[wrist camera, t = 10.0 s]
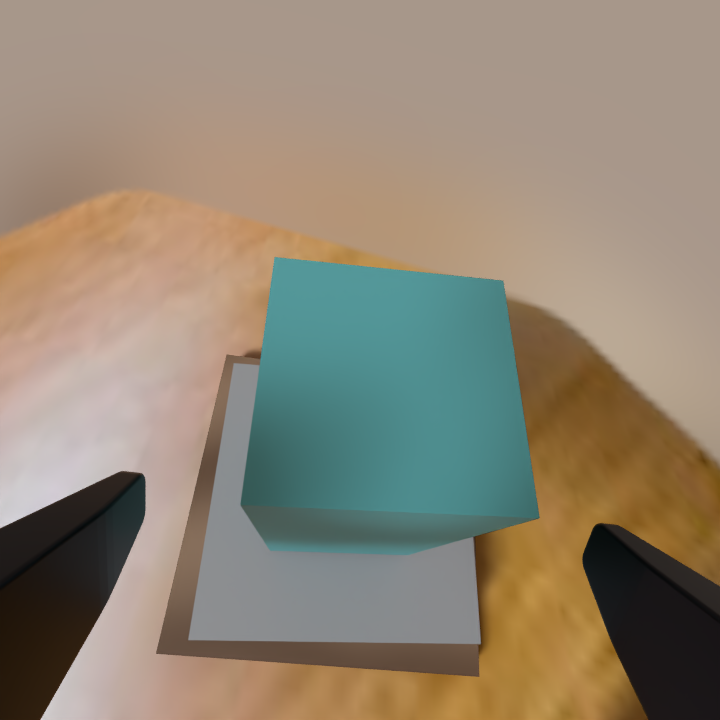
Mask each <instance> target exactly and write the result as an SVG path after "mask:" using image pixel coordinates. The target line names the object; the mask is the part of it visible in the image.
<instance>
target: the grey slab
mask: <svg viewBox="0 0 720 720" xmlns="http://www.w3.org/2000/svg"><path fill="white" fill-rule="evenodd" d="M259 366H260V365H250V364H238V363H234V365H233V371H232V377H231V383H230V389H229V396H228V402H227V408H226V414H225V420H224V426H223V432H222V438H221V444H220V450H219V456H218V462H217V468H216V474H215V480H214V487H213V493H212V499H211V505H210V511H209V517H208V523H207V529H206V535H205V541H204V547H203V553H202V559H201V565H200V572H199V578H198V584H197V590H196V596H195V602H194V608H193V614H192V620H191V626H190V632H189V638H188V640H219V641H293V642H366V643H440V644H481V637H480V624H479V610H478V596H477V583H476V569H475V556H474V542H473V537H471V538H467V539H464V540H460V541H456V542H453V543H449V544H446V545H442V546H439V547H435V548H431V549H428V550H424V551H421V552H417V553H414V554H410V555H386V554H356V553H326V552H296V551H270V550H269V548H268V547H267V545H266V544H265V542H264V541H263V539H262V538H261V536H260V535H259V533H258V532H257V530H256V528H255V527H254V525H253V524H252V522H251V521H250V519H249V518H248V516H247V515H246V513H245V512H244V510H243V509H242V507H241V505H240V503H241V496H242V489H243V481H244V474H245V467H246V460H247V453H248V445H249V438H250V431H251V424H252V417H253V410H254V402H255V395H256V388H257V381H258V374H259Z"/></svg>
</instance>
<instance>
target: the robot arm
mask: <svg viewBox="0 0 720 720" xmlns="http://www.w3.org/2000/svg"><path fill="white" fill-rule="evenodd" d="M144 516H145V477H144V475H143V474H142V473H136V472H127V471H121V472H118V473H116V474H114V475H112V476H109V477H107V478H105V479H103V480H101V481H99V482H97V483H95V484H93V485H91V486H88V487H86V488H84V489H82V490H80V491H78V492H76V493H74V494H72V495H69V496H67V497H65V498H63V499H61V500H59V501H57V502H55V503H53V504H51V505H48V506H46V507H44V508H42V509H40V510H38V511H36V512H34V513H32V514H30V515H27V516H25V517H23V518H21V519H19V520H17V521H15V522H13V523H11V524H9V525H6V526H4V527H2V528H0V720H40V719H41V718H42V716H43V714H44V712H45V711H46V709H47V707H48V705H49V704H50V702H51V700H52V698H53V697H54V695H55V693H56V691H57V690H58V688H59V686H60V684H61V683H62V681H63V679H64V677H65V676H66V674H67V672H68V670H69V669H70V667H71V665H72V663H73V662H74V660H75V658H76V656H77V655H78V653H79V651H80V649H81V648H82V646H83V644H84V642H85V641H86V639H87V637H88V635H89V634H90V632H91V630H92V628H93V627H94V625H95V623H96V621H97V620H98V618H99V616H100V614H101V613H102V611H103V609H104V607H105V605H106V603H107V601H108V600H109V597H110V595H111V593H112V591H113V589H114V587H115V584H116V582H117V580H118V578H119V575H120V573H121V571H122V568H123V566H124V564H125V562H126V559H127V557H128V555H129V553H130V550H131V548H132V546H133V543H134V541H135V539H136V537H137V534H138V532H139V530H140V527H141V525H142V523H143V520H144ZM582 560H583V567H584V570H585V573H586V576H587V578H588V581H589V584H590V586H591V589H592V592H593V594H594V597H595V600H596V602H597V605H598V608H599V610H600V613H601V616H602V618H603V621H604V624H605V626H606V629H607V632H608V634H609V637H610V639H611V642H612V644H613V646H614V648H615V651H616V653H617V655H618V657H619V659H620V661H621V664H622V666H623V668H624V670H625V672H626V674H627V676H628V678H629V680H630V682H631V684H632V687H633V689H634V691H635V693H636V695H637V697H638V699H639V701H640V703H641V705H642V708H643V710H644V712H645V714H646V716H647V718H648V720H720V586H718V585H717V584H715V583H713V582H712V581H710V580H708V579H707V578H705V577H703V576H702V575H700V574H698V573H697V572H695V571H693V570H692V569H690V568H688V567H687V566H685V565H683V564H682V563H680V562H679V561H677V560H675V559H674V558H672V557H670V556H669V555H667V554H665V553H664V552H662V551H660V550H659V549H657V548H655V547H654V546H652V545H650V544H649V543H647V542H645V541H644V540H642V539H640V538H639V537H637V536H635V535H634V534H632V533H631V532H629V531H627V530H626V529H624V528H622V527H620V526H618V525H614V524H604V523H599V524H597V525H595V526H594V528H593V530H592V532H591V535H590V537H589V540H588V543H587V545H586V548H585V550H584V553H583V558H582Z"/></svg>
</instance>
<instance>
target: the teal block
mask: <svg viewBox="0 0 720 720" xmlns="http://www.w3.org/2000/svg"><path fill="white" fill-rule="evenodd" d="M240 505H241V507H242V509H243V510H244V512H245V513H246V515H247V516H248V518H249V519H250V521H251V522H252V524H253V525H254V527H255V528H256V530H257V532H258V533H259V535H260V536H261V538H262V539H263V541H264V542H265V544H266V545H267V547H268V548H269V550H270V551H296V552H326V553H356V554H386V555H410V554H414V553H417V552H421V551H424V550H428V549H431V548H435V547H439V546H442V545H446V544H449V543H453V542H456V541H460V540H464V539H467V538H471V537H474V536H478V535H481V534H485V533H489V532H492V531H496V530H499V529H503V528H506V527H510V526H513V525H517V524H521V523H524V522H528V521H531V520H535V519H538V518H539V511H538V505H537V498H536V492H535V485H534V479H533V472H532V465H531V459H530V452H529V446H528V439H527V433H526V426H525V420H524V413H523V407H522V400H521V394H520V387H519V380H518V374H517V367H516V361H515V354H514V348H513V341H512V335H511V328H510V322H509V315H508V309H507V302H506V295H505V289H504V283H503V281H501V280H492V279H491V280H490V279H481V278H472V277H463V276H453V275H443V274H433V273H424V272H414V271H404V270H394V269H385V268H375V267H365V266H355V265H346V264H336V263H326V262H316V261H307V260H297V259H287V258H278V257H275V259H274V266H273V273H272V280H271V287H270V295H269V302H268V309H267V316H266V323H265V331H264V338H263V345H262V352H261V359H260V366H259V374H258V381H257V388H256V395H255V402H254V410H253V417H252V424H251V431H250V438H249V445H248V453H247V460H246V467H245V474H244V481H243V489H242V496H241V503H240Z"/></svg>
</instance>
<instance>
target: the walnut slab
mask: <svg viewBox="0 0 720 720" xmlns="http://www.w3.org/2000/svg"><path fill="white" fill-rule="evenodd" d="M234 363H238V364H250V365H260V359H256V358H249V357H241V356H234V355H227V356H226V360H225V364H224V368H223V373H222V377H221V381H220V385H219V390H218V394H217V398H216V402H215V406H214V411H213V415H212V419H211V423H210V428H209V432H208V436H207V440H206V445H205V449H204V453H203V457H202V462H201V466H200V470H199V474H198V479H197V483H196V487H195V491H194V495H193V500H192V504H191V508H190V512H189V517H188V521H187V525H186V529H185V534H184V538H183V542H182V546H181V551H180V555H179V559H178V563H177V567H176V572H175V576H174V580H173V584H172V589H171V593H170V597H169V601H168V606H167V610H166V614H165V618H164V623H163V627H162V631H161V635H160V640H159V644H158V648H157V652H156V654H168V655H182V656H196V657H210V658H224V659H238V660H252V661H266V662H280V663H294V664H308V665H322V666H336V667H350V668H364V669H378V670H392V671H406V672H420V673H434V674H448V675H462V676H476V677H479V653H478V644H440V643H366V642H293V641H219V640H188V638H189V632H190V626H191V620H192V614H193V608H194V602H195V596H196V590H197V584H198V578H199V572H200V565H201V559H202V553H203V547H204V541H205V535H206V529H207V523H208V517H209V511H210V505H211V499H212V493H213V487H214V480H215V474H216V468H217V462H218V456H219V450H220V444H221V438H222V432H223V426H224V420H225V414H226V408H227V402H228V396H229V389H230V383H231V377H232V371H233V365H234ZM473 542H474V556H475V569H476V550H475V536H474V537H473Z"/></svg>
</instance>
